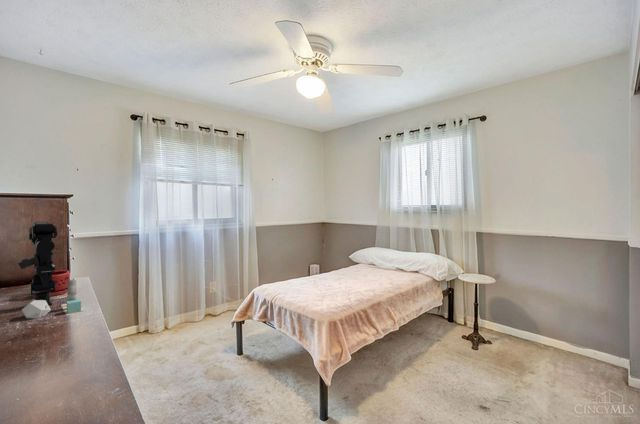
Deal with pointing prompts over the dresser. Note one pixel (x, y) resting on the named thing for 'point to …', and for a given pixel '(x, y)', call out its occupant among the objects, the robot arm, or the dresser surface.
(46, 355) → the dresser surface
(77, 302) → the cube
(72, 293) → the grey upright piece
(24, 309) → the die
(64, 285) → the plant pot
